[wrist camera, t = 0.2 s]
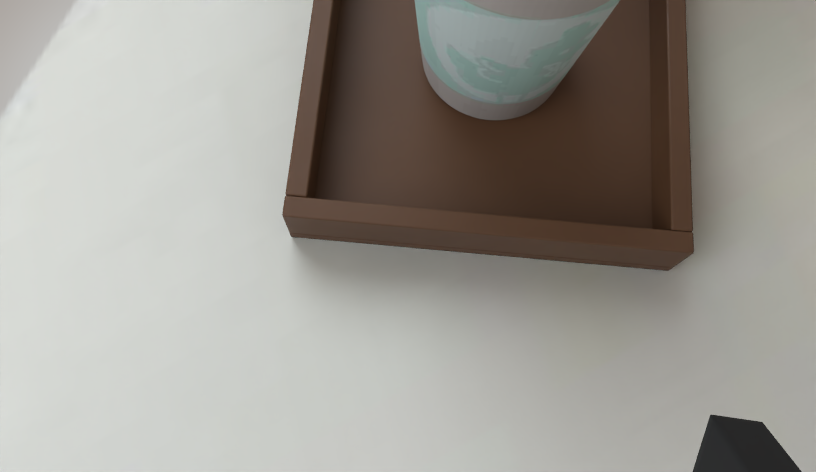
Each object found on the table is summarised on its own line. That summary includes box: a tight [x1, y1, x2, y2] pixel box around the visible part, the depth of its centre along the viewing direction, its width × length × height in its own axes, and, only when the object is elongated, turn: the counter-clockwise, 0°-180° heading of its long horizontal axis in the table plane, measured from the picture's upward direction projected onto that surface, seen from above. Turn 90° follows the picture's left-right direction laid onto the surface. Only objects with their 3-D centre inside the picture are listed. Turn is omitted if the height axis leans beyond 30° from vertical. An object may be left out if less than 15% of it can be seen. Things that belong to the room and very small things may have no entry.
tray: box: [282, 0, 694, 271], centre depth 29 cm, size 17×15×2 cm
